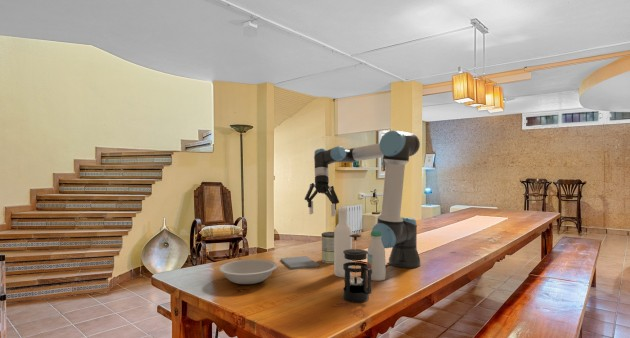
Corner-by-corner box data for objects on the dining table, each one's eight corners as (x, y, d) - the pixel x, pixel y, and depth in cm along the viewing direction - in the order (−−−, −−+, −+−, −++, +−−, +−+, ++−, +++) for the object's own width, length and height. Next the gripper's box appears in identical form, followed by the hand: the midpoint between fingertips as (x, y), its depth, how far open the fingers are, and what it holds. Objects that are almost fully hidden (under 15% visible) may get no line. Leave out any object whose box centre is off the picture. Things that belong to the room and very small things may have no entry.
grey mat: (318, 266, 171) (318, 264, 171) (290, 269, 166) (290, 267, 166) (306, 257, 188) (306, 255, 188) (280, 260, 183) (280, 258, 183)
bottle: (333, 272, 161) (333, 206, 161) (351, 272, 161) (350, 206, 161) (334, 277, 153) (334, 208, 153) (353, 277, 153) (352, 208, 153)
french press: (336, 297, 129) (335, 234, 129) (352, 291, 136) (352, 231, 136) (361, 306, 121) (361, 239, 121) (377, 299, 127) (377, 235, 128)
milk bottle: (386, 276, 154) (386, 230, 154) (384, 282, 147) (383, 233, 147) (369, 275, 157) (368, 230, 157) (365, 280, 150) (365, 232, 150)
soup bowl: (215, 277, 154) (215, 262, 154) (268, 271, 164) (268, 256, 164) (223, 295, 132) (223, 277, 132) (284, 286, 142) (284, 270, 142)
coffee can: (322, 258, 187) (322, 231, 187) (341, 258, 186) (341, 231, 186) (320, 263, 177) (320, 235, 177) (341, 263, 176) (341, 235, 176)
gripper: (336, 181, 202) (338, 218, 195) (298, 175, 191) (298, 214, 184) (344, 177, 196) (346, 215, 189) (304, 171, 184) (305, 211, 177)
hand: (322, 214), depth 186 cm, fingers open, 13 cm apart
